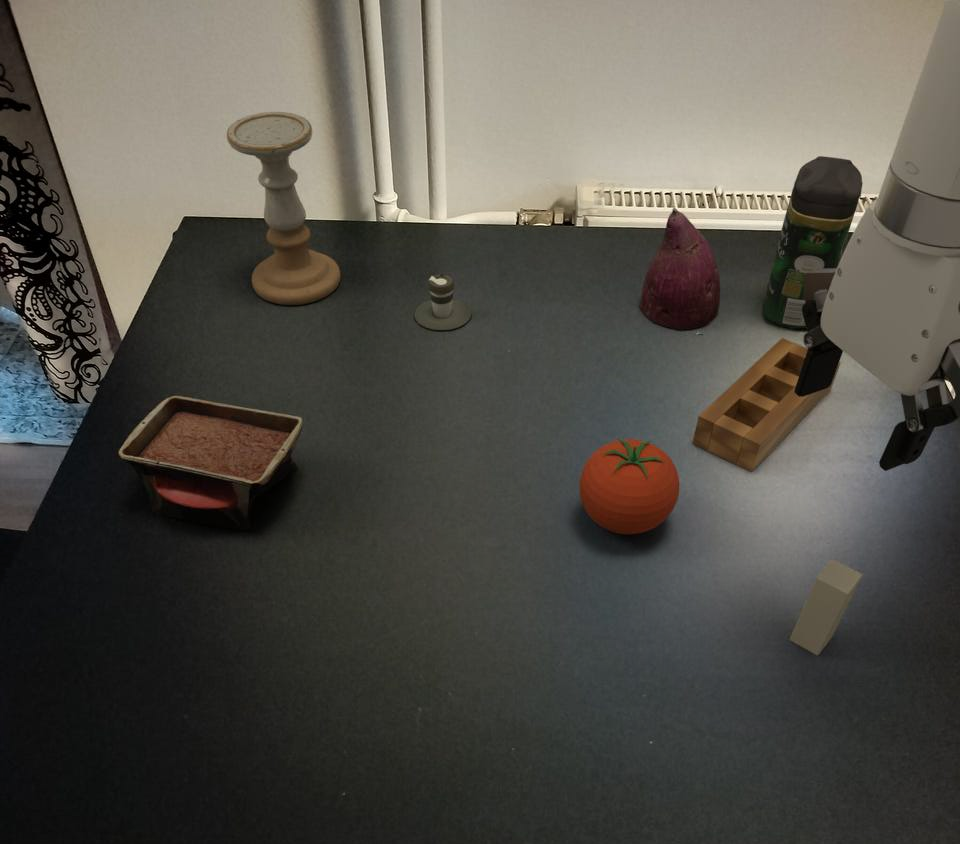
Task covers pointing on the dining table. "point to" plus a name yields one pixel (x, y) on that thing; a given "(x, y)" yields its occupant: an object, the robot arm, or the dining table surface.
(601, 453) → the tomato
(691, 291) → the vegetable
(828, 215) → the coffee jar
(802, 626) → the peg
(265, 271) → the candle holder
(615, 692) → the dining table surface
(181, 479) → the baking dish
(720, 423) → the peg block
